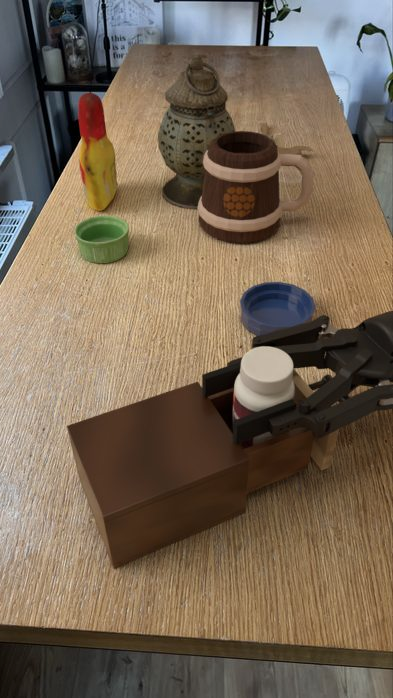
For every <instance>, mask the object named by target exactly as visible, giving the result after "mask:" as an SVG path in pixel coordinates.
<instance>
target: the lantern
mask: <svg viewBox="0 0 393 698" xmlns="http://www.w3.org/2000/svg"><path fill="white" fill-rule="evenodd" d="M187 64H188V66H187V67H186V68H185V70H184V71H182V72H180V74H179V76H178V77H177V79H176V80H175V82H174V83H172V85H171V86H170V87H169V88H168V89H167V90H166V91H165V92H164V100H165V101H166V102H167V103H169V106H168V108H167V110H166V111H165V114H164V115H163V117H162V120H161V123H160V126H159V130H158V132H157V142H158V143H157V145H158V150H159V152H160V154H161V157H162V159H163V161H164V164H165V165H166V167H168V168H169V169H170V170H171V171H172V172H173V173H174V174H175V175H174V176H173V177H171V179H169V180H168V181H167V182H166V183H165V184H164V185H163V186H162V187H161V192H162V197H163V199H164V200H165V202H167V203H169V204H170V205H172V206H175V207H177V208H181V209H189V210H198V203H199V200H200V198H201V196H202V191H203V182H204V173H205V168H204V164H203V159H204V155H205V153H206V151H207V150H208V147H209V144H210V142H211V141H212V140H214V139H215V138H216V137H218V136H219V135H222V134H224V133H228V132H234V131H236V127H235V124H234V121H233V118H232V116H231V114H230V112H229V111H228V110H227V105H226V104H227V102H228V100H229V97H228V92H227V91H226V89H224V87H223V86H222V85H221V79H220V76H219V74H218V72H217V70H216V69H215V68H214V67H213V66H212V65H210V64H209V63H206V62H204V60H203V59H202V57H200V56H199V55H193V56H192V57H190V58H189V60H188V63H187ZM204 68H206V69H204ZM207 69H208V70H207Z"/></svg>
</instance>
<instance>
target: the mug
mask: <svg viewBox="0 0 393 698" xmlns="http://www.w3.org/2000/svg"><path fill="white" fill-rule="evenodd" d="M275 143H276V142H275V141H274V140H273V138H272V139H270V138H269V137H267V136H266V135H263V134H262V133H260V132H256V131H250V130H249V131H247V130H238V131H237V130H235V131H234V132H228V133H224V134H222V135H219V136H218V137H216V138H215V139H214V140H212V141H211V142H210V144H209V147H208V150H207V151H206V153H205V155H204V159H203V164H204V168H205V173H204V182H203V191H202V196H201V198H200V200H199V203H198V209H197V211H198V223H199V226H200V227H201V229H202V230H203V231H204V232H205V233H207V234H208V235H209V236H210V237H212V238H215V239H217V240H220V241H224V242H226V243H232V244H233V243H235V244H236V243H237V244H246V243H255V242H259V241H262V240H265V239H266V238H268V237H270V236H272V235H273V234H275V233H276V231H278V229H279V228H280V225H281V217H282V215H283V212H295V211H298V210H300V209H301V208H303V207H305V206H306V205H307V204H308V203H309V201H310V199H311V197H312V194H313V192H314V191H313V189H314V174H315V173H314V170H313V169H312V168H313V167H312V166H311V164H310V162H309V161H308V160H307V159H306V158H305V157H303V155H294V154H279V152H278V150H277V146H278V144H277V143H276V144H275ZM282 167H295V168H296V169H297V170H298V171H299V173H300V175H301V187H300V193H299V195H298V197H297V198H296V199H293V200H281V198H280V169H281V168H282Z"/></svg>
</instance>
